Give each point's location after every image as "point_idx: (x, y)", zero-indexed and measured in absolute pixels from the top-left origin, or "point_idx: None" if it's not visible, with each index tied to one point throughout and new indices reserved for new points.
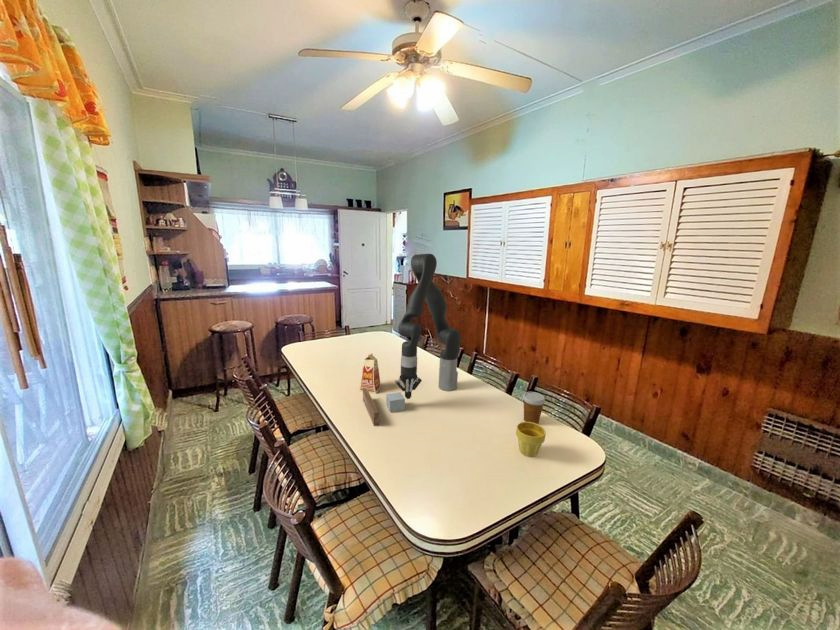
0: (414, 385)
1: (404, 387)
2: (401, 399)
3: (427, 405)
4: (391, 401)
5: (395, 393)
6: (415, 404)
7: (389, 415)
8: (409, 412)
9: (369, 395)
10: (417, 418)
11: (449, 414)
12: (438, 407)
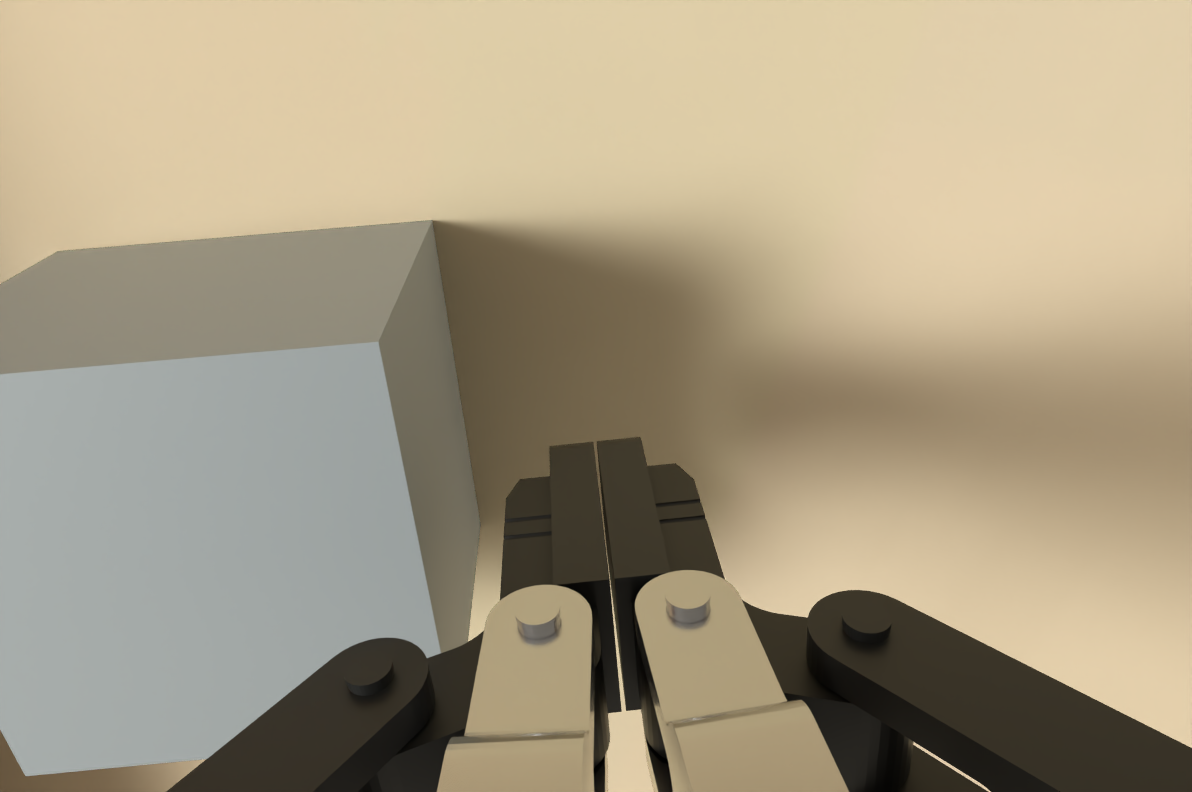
0: (961, 700)
1: (477, 686)
2: None
3: (1009, 431)
4: (76, 752)
5: (181, 403)
6: (780, 345)
7: None
8: None
9: None
10: (644, 767)
11: (1183, 741)
12: (1165, 535)
